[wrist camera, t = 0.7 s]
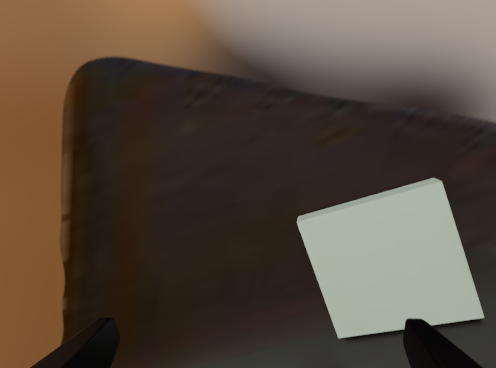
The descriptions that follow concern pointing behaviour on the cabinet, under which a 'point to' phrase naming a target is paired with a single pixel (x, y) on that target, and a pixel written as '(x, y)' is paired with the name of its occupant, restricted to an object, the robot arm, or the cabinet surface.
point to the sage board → (390, 261)
